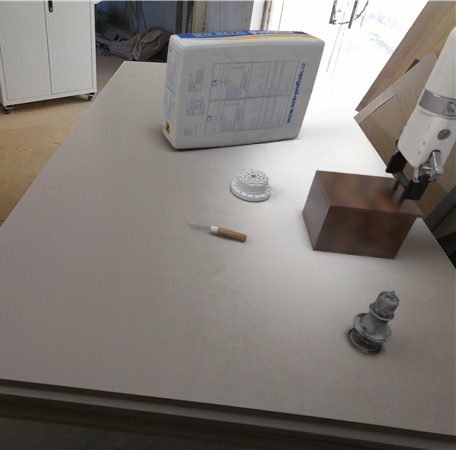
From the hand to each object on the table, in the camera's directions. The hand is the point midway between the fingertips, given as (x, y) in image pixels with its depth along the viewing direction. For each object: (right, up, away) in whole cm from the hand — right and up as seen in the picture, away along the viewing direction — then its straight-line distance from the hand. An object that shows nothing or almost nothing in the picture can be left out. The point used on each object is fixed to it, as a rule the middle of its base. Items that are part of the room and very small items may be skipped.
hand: (401, 185), depth 81 cm
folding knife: (-37, -10, +7) cm, 39 cm away
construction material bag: (-26, +19, +45) cm, 55 cm away
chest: (-7, -10, +9) cm, 15 cm away
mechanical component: (-25, 0, +21) cm, 33 cm away
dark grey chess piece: (-15, -27, -14) cm, 34 cm away
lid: (-6, -2, +2) cm, 7 cm away
